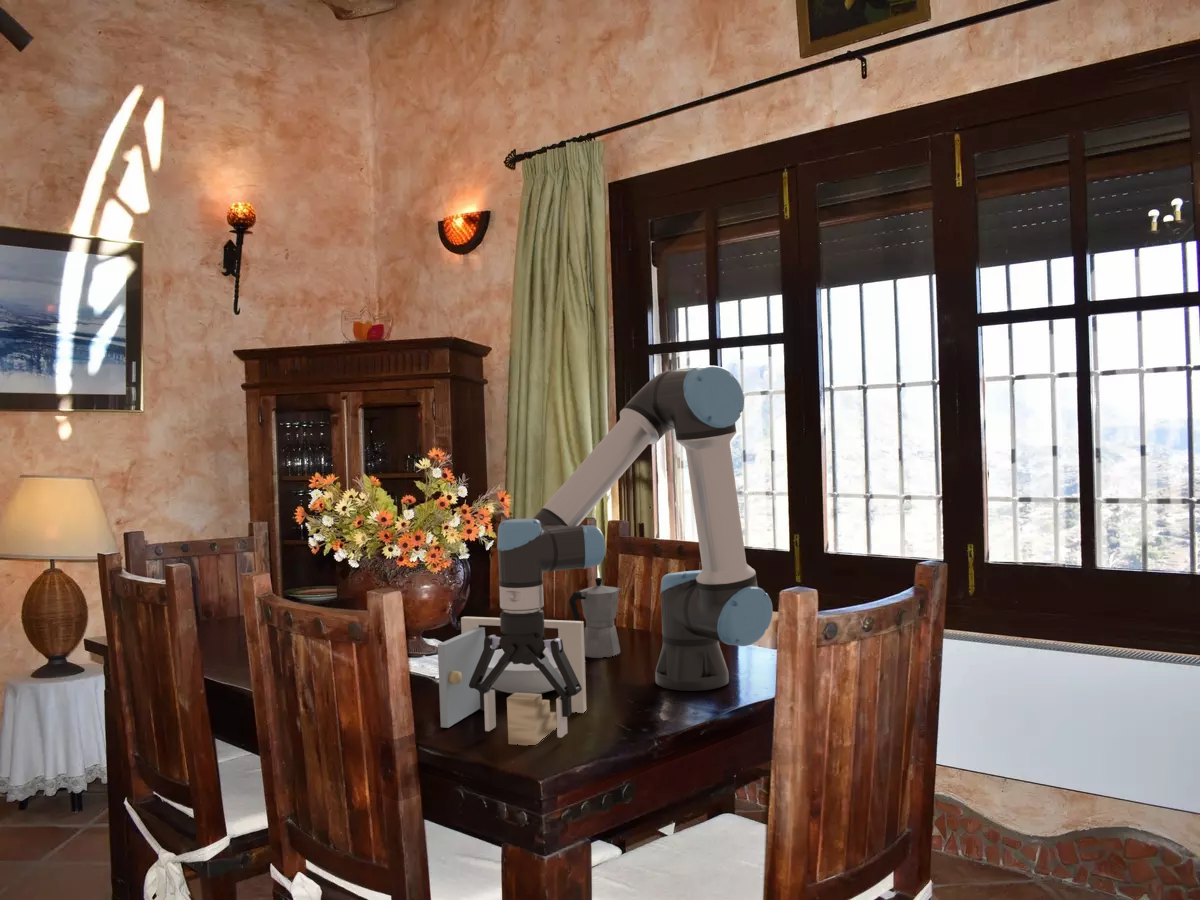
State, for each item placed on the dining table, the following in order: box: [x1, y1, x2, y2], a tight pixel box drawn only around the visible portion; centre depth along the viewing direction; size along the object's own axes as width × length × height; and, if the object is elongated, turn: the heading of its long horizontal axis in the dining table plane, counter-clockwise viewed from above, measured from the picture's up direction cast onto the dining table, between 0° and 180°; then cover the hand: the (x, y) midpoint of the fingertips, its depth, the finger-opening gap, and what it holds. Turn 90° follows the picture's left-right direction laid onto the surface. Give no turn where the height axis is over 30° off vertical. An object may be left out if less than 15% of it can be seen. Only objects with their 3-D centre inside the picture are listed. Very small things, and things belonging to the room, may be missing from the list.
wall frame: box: [460, 616, 587, 714], centre depth 188 cm, size 25×2×17 cm, turn 70°
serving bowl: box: [486, 647, 560, 695], centre depth 201 cm, size 21×21×7 cm
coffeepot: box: [568, 577, 622, 659], centre depth 230 cm, size 15×9×18 cm, turn 129°
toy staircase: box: [506, 693, 557, 746], centre depth 170 cm, size 10×5×8 cm, turn 161°
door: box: [437, 626, 487, 729], centre depth 183 cm, size 16×3×15 cm, turn 160°
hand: (526, 732), depth 168 cm, fingers open, 13 cm apart
